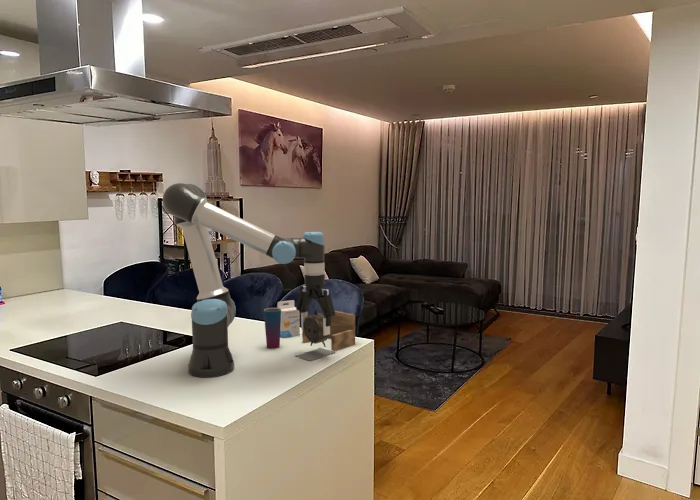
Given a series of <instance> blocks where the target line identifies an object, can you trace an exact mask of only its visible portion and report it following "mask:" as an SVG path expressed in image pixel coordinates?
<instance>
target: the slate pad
mask: <svg viewBox="0 0 700 500" xmlns="http://www.w3.org/2000/svg"><path fill="white" fill-rule="evenodd" d="M333 353H334V354H336V351H332V350H329V349H327V348H326V349H325V348H323V347H319V348H317V349H316V348H315V349H313V350H310V351H309V350H308V351H306V352H303V353H300V354H296V355H295V356H294V357H295V358H297V359H298V358H299V359H301V360H304V361H308V362H313V361H315V360H318V359H322V358H325V357H328V356H330V354H331V355H333ZM327 355H328V356H327ZM324 356H325V357H324Z"/></svg>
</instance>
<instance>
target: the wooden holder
mask: <svg viewBox="0 0 700 500" xmlns="http://www.w3.org/2000/svg"><path fill="white" fill-rule="evenodd" d="M334 311H335V316H332V317H331V326H330V334H329V337H328V339H329V340H330V348H331V350H330V351H332V350H333V352H336V351H338V349H339V350H343V349H345V348H348V347H351V346H353V345H356V314H354V313H348V312H345V311H340V310H334ZM321 314H322V315H324V314H323V311H322V310H321ZM327 314H328V313H327ZM324 317H325V316H324ZM301 331H302V332H301V333H302V337H301V338H302V343H303V344H305V343H309V342H310V341H309V340H308V338H307V337H306V335H305V332H304V330H302V329H301ZM310 343H311V342H310ZM335 350H336V351H335Z"/></svg>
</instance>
